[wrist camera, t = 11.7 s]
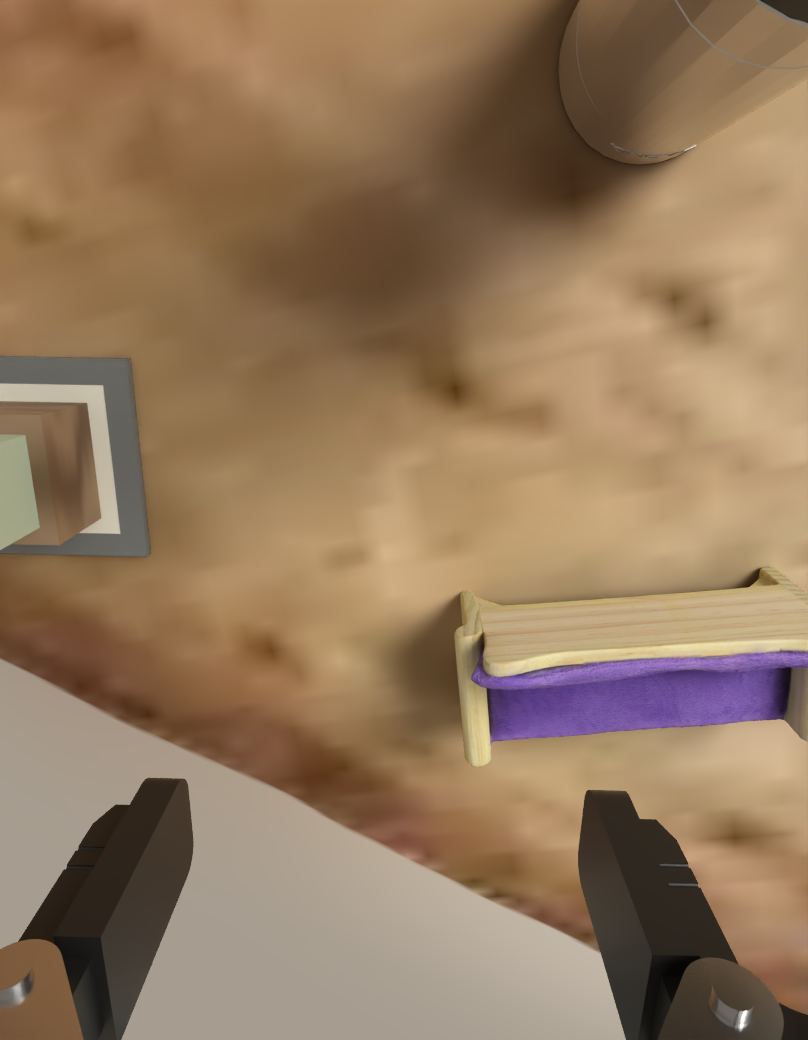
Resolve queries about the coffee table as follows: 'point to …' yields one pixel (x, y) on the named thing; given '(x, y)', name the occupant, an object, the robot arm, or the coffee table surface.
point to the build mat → (112, 442)
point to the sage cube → (16, 491)
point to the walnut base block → (56, 466)
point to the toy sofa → (632, 663)
